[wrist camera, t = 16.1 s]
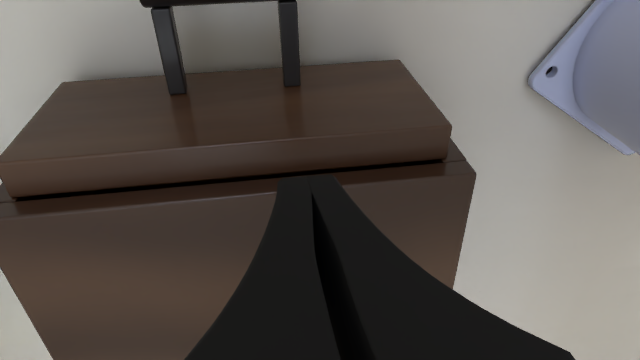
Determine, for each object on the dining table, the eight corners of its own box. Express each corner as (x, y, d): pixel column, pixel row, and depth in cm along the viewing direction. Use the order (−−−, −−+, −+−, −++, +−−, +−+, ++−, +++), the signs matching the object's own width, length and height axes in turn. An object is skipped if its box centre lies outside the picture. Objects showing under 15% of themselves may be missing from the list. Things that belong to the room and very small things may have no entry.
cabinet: (62, 102, 19) (-29, 220, 12) (405, 77, 20) (477, 173, 14) (140, 315, 26) (108, 457, 20) (386, 286, 27) (428, 410, 21)
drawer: (16, -45, 15) (-92, -4, 10) (409, -61, 16) (478, -31, 11) (139, 299, 24) (113, 405, 19) (382, 271, 25) (414, 365, 21)
